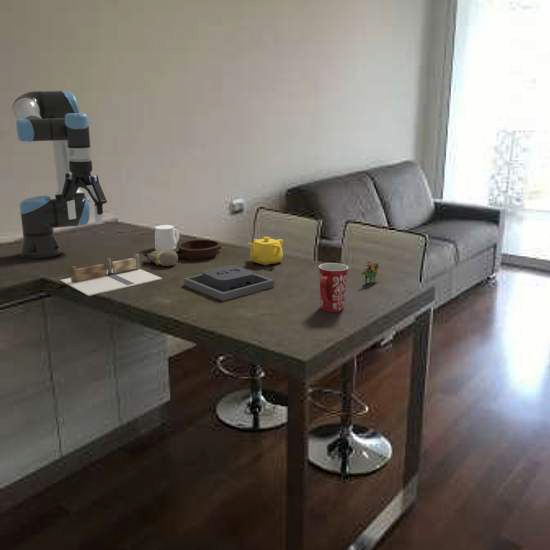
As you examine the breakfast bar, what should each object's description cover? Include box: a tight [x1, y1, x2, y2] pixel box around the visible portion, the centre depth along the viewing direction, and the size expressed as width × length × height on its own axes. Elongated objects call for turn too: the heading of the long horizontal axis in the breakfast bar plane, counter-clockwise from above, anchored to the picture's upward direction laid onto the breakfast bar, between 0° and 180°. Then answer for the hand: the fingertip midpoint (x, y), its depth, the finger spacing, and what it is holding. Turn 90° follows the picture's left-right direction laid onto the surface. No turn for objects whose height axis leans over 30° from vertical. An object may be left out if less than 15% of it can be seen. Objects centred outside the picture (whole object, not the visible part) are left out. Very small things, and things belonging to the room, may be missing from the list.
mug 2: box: [318, 262, 349, 313], centre depth 185 cm, size 13×9×14 cm
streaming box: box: [201, 264, 255, 292], centre depth 209 cm, size 14×14×5 cm
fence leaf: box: [69, 263, 108, 282], centre depth 214 cm, size 13×2×5 cm, turn 132°
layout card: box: [60, 268, 163, 297], centre depth 215 cm, size 22×28×1 cm
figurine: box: [360, 261, 380, 285], centre depth 212 cm, size 3×12×8 cm, turn 141°
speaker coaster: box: [183, 273, 275, 302], centre depth 209 cm, size 22×22×2 cm
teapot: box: [247, 236, 284, 266], centre depth 236 cm, size 14×13×10 cm
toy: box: [143, 250, 179, 267], centre depth 236 cm, size 10×6×15 cm
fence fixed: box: [106, 253, 141, 275], centre depth 223 cm, size 13×2×6 cm, turn 132°
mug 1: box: [154, 224, 180, 251], centre depth 258 cm, size 12×9×8 cm
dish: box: [175, 239, 222, 260], centre depth 247 cm, size 17×22×5 cm
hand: (85, 221), depth 213 cm, fingers open, 13 cm apart
